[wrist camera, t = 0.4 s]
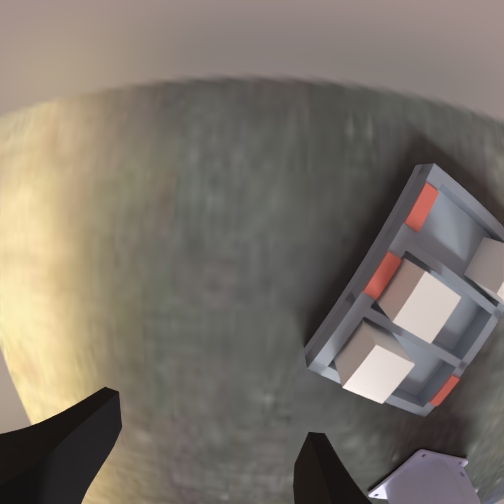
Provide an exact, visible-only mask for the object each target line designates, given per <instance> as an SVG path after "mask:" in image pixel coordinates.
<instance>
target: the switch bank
mask: <svg viewBox="0 0 504 504" xmlns="http://www.w3.org/2000/svg"><path fill="white" fill-rule="evenodd" d="M483 237H486V238H489V239H493V240H496V241H499V242H502V243H504V227H503V226H502V225H501V224H500V223H499V222H498V221H497V220H496V219H495V217H494V216H493V215H492V214H491V213H489V212H488V211H487V210H486V209H485V208H484V207H483V206H482V205H481V204H480V203H479V202H478V201H477V200H476V199H475V198H474V197H473V196H472V195H471V194H470V193H468V192H467V191H466V190H465V189H464V188H463V187H462V186H461V185H459V184H458V183H457V182H456V181H455V180H454V179H453V178H451V177H450V176H449V175H448V174H447V173H446V172H444V171H443V170H442V169H441V168H439V167H438V166H437V165H436V164H435V163H431V164H420V165H416V166H415V168H414V170H413V172H412V174H411V176H410V178H409V180H408V182H407V184H406V185H405V187H404V189H403V191H402V193H401V195H400V197H399V199H398V200H397V202H396V204H395V206H394V208H393V210H392V211H391V213H390V215H389V217H388V218H387V220H386V222H385V224H384V225H383V227H382V229H381V231H380V232H379V234H378V236H377V238H376V239H375V241H374V243H373V244H372V246H371V248H370V249H369V251H368V253H367V254H366V256H365V258H364V259H363V261H362V263H361V264H360V266H359V267H358V269H357V271H356V272H355V274H354V275H353V277H352V279H351V280H350V282H349V283H348V285H347V286H346V288H345V289H344V291H343V293H342V294H341V296H340V297H339V299H338V300H337V302H336V303H335V305H334V306H333V308H332V309H331V311H330V312H329V314H328V315H327V317H326V318H325V319H324V321H323V322H322V324H321V325H320V327H319V328H318V330H317V331H316V332H315V334H314V335H313V337H312V338H311V340H310V341H309V342H308V344H307V345H306V347H305V348H304V351H305V357H306V364H307V369H309V370H312V371H314V372H316V373H318V374H320V375H322V376H325V377H327V378H329V379H331V380H334V381H336V382H338V383H340V384H341V381H340V378H339V375H338V371H337V368H336V365H335V362H334V357H335V356H336V354H337V353H338V352H339V350H340V349H341V348H342V346H343V345H344V344H345V342H346V341H347V340H348V338H349V337H350V335H351V334H352V333H353V331H354V330H355V328H356V327H357V326H358V324H359V323H360V321H361V320H362V318H363V317H364V318H366V319H368V320H370V321H372V322H374V323H375V324H377V325H379V326H381V327H383V328H384V329H386V330H388V331H390V332H392V333H393V334H394V335H395V337H396V338H397V340H398V341H399V342H400V344H401V345H402V347H403V348H404V349H405V351H406V352H407V354H408V355H409V356H410V358H411V359H412V361H413V362H414V364H415V365H414V367H413V368H412V369H411V370H410V372H409V373H408V374H407V375H406V377H405V378H404V379H403V380H402V381H401V383H400V384H399V385H398V386H397V387H396V389H395V390H394V391H393V392H392V393H391V394H390V396H389V397H388V398H387V399H386V400H385V401H384V402H386V403H389V404H391V405H394V406H396V407H399V408H401V409H404V410H407V411H409V412H412V413H415V414H417V415H420V416H423V417H426V416H427V415H428V414H429V413H430V412H431V411H432V409H433V408H434V407H435V406H438V405H439V404H440V403H441V402H442V401H443V399H444V398H445V397H446V396H447V395H448V394H449V392H450V391H451V390H452V389H453V387H454V386H455V385H456V384H457V383H458V381H459V380H460V379H459V377H460V376H461V374H462V373H463V372H464V371H465V369H466V368H467V367H468V365H469V364H470V362H471V361H472V360H473V358H474V357H475V356H476V354H477V353H478V351H479V350H480V348H481V347H482V345H483V344H484V343H485V341H486V340H487V338H488V336H489V335H490V333H491V332H492V330H493V329H494V327H495V326H496V324H497V322H498V321H499V319H500V317H501V316H502V314H503V312H504V304H502V303H500V302H499V301H497V300H496V299H494V298H492V297H491V296H489V295H487V294H486V293H485V292H484V291H482V290H481V289H480V288H479V287H478V286H476V285H475V284H474V283H473V282H472V281H470V280H469V279H468V278H467V277H465V276H464V275H463V274H464V273H465V271H466V269H467V267H468V266H469V264H470V262H471V260H472V258H473V256H474V254H475V253H476V251H477V249H478V247H479V245H480V243H481V241H482V239H483ZM402 257H404V258H405V259H407V260H409V261H410V262H412V263H413V264H415V265H417V266H418V267H420V268H421V269H423V270H424V271H426V272H427V273H429V274H430V275H432V276H433V277H434V278H436V279H437V280H439V281H440V282H441V283H443V284H444V285H445V286H447V287H448V288H450V289H451V290H452V291H454V292H455V293H456V294H458V295H459V296H460V297H461V299H460V301H459V302H458V304H457V305H456V307H455V309H454V310H453V312H452V313H451V315H450V316H449V318H448V319H447V321H446V322H445V324H444V325H443V327H442V328H441V330H440V331H439V333H438V334H437V335H436V337H435V338H434V340H433V341H432V343H431V344H429V343H428V342H426V341H424V340H422V339H421V338H419V337H417V336H416V335H414V334H412V333H410V332H409V331H407V330H405V329H403V328H402V327H400V326H398V325H396V324H395V323H393V322H392V321H391V320H390V319H389V317H388V316H387V315H386V314H385V312H384V311H383V310H382V309H381V307H380V306H379V305H378V304H377V302H376V301H375V299H376V300H377V299H378V298H379V296H380V294H381V293H382V291H383V290H384V288H385V287H386V285H387V284H388V282H389V280H390V279H391V277H392V276H393V274H394V272H395V271H396V269H397V268H398V266H399V264H400V263H401V261H402V260H401V258H402Z"/></svg>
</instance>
